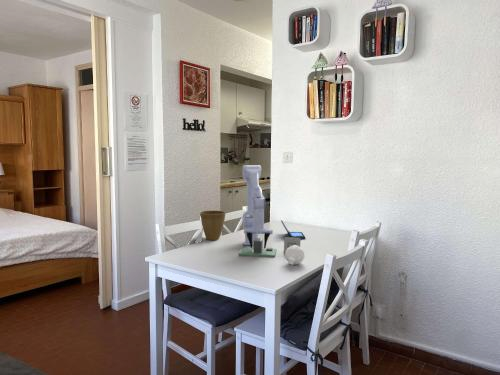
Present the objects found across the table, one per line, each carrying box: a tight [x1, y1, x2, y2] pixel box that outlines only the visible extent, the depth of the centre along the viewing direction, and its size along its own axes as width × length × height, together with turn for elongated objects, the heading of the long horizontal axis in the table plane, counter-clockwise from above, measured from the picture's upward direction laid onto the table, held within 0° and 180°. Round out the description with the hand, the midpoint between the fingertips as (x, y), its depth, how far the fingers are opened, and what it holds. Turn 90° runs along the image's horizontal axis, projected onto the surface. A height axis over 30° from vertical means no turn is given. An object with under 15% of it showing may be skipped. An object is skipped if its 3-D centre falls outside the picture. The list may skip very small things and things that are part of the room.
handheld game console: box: [280, 219, 306, 240], centre depth 233 cm, size 16×13×9 cm
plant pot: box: [199, 210, 226, 241], centre depth 226 cm, size 15×15×16 cm
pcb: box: [238, 247, 277, 258], centre depth 196 cm, size 12×18×4 cm, turn 82°
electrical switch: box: [283, 236, 302, 254], centre depth 196 cm, size 8×5×8 cm, turn 78°
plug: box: [253, 237, 264, 253], centre depth 195 cm, size 6×4×6 cm, turn 172°
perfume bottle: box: [284, 245, 305, 266], centre depth 176 cm, size 9×9×12 cm
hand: (258, 247), depth 196 cm, fingers open, 6 cm apart
